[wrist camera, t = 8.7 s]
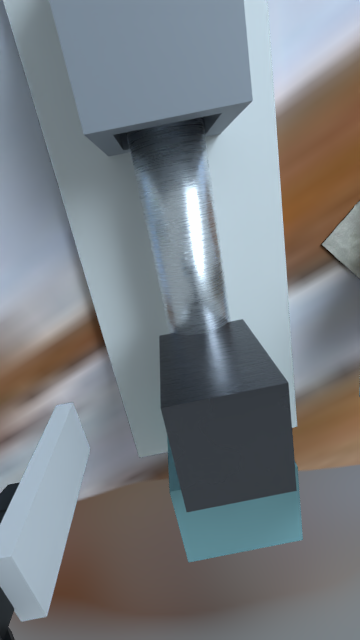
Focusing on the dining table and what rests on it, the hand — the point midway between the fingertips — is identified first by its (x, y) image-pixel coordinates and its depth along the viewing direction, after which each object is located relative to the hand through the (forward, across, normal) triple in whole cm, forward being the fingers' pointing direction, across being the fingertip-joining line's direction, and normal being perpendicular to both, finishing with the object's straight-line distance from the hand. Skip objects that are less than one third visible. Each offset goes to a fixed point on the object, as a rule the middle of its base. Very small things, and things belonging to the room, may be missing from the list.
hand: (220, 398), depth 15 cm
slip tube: (+6, 0, +3) cm, 7 cm away
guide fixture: (+8, 0, +5) cm, 9 cm away
